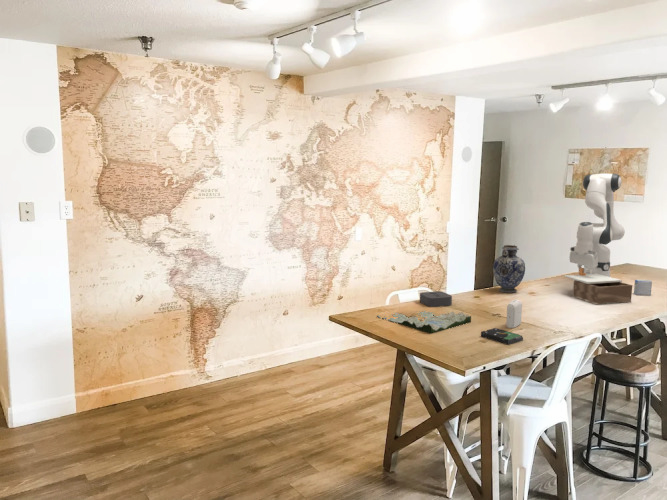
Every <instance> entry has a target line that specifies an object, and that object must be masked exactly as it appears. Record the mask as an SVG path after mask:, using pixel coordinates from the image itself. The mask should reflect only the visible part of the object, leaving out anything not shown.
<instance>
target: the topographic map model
mask: <svg viewBox="0 0 667 500" xmlns="http://www.w3.org/2000/svg"><path fill="white" fill-rule="evenodd" d="M423 311H424V312H420V311H419V312H420V313H418V312H417V313H418V314H417V315H421V314H422V315H421V317H420V318H421V319H422V320H423V319H424V321H420V320H421V319H420V320H418V318H419V317H417V316H414V315H413V316H412V317H410V318H408V317H409V316H407V315H406V316H407V317H406V316H405V315H404V314H401V313H399V314H398V312H394V313H395V315H394V314H392V315H393V316H394V317H398V318H396V319H394V318H390V319H388V322H390V323H391V322H392V323H394V322H395V323H394V324H397V323H398V324H397V325H400V324H401V326H403V327H407V328H410V329H413V328H414V330H417V331H421V332H424V333H427V334H431V335H432V334H435V333H439V332H442V331H446V330H448V329H449V328H450V329H453V328H456V326H457V327H460V326H464V325H466V323H467V324H470V323H471V322H472V315H469V314H465V313H464V312H458V313H456V312H455V311H451V312H447V313H440V314H439V315H436V316H435V312H433V311H427V312H426V310H423ZM432 313H434V314H432ZM397 314H398V315H397ZM433 315H434V316H433ZM440 315H441V316H440ZM380 316H381V315H376V318H377V317H378V319H381V318H382V320H384V319H385V320H384V321H387V320H386V319H387V318H388V317H385V316H384V317H382V316H381V317H380ZM423 317H424V318H423ZM425 317H427V318H425ZM425 319H426V320H425ZM463 324H464V325H463ZM459 325H460V326H459ZM452 327H453V328H452Z"/></svg>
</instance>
